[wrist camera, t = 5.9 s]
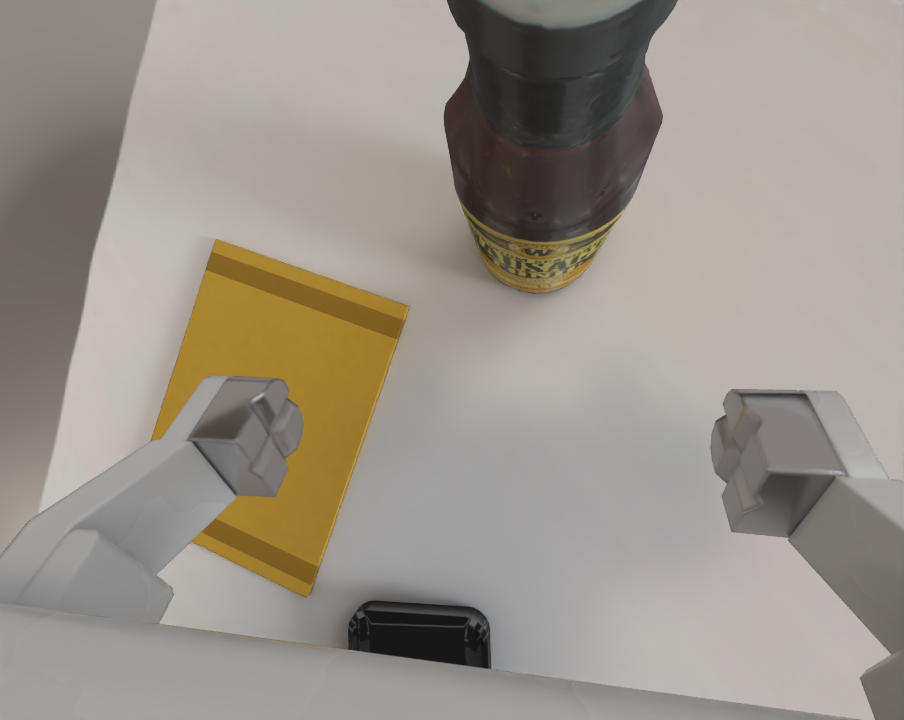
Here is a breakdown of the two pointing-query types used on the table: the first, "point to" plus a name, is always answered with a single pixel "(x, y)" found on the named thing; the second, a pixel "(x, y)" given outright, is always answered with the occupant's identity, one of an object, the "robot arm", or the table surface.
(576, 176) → the sauce bottle
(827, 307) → the table surface
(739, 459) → the robot arm
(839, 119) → the table surface
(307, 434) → the tray
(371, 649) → the phone
